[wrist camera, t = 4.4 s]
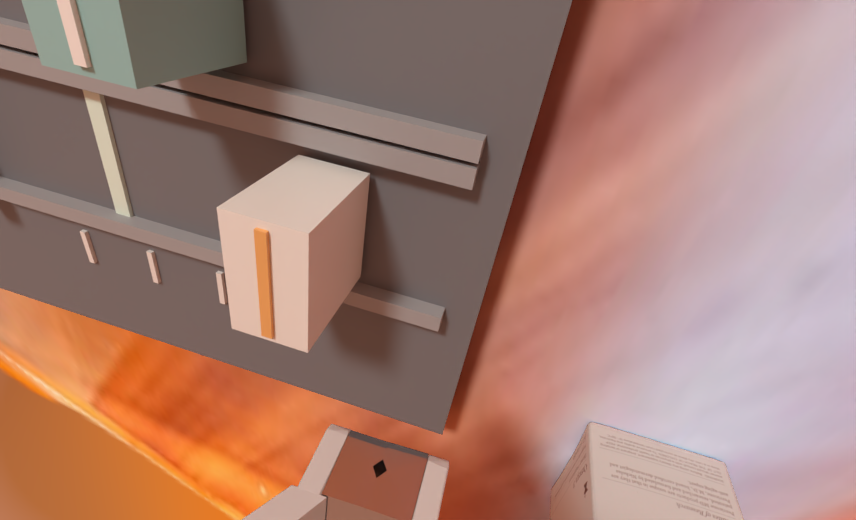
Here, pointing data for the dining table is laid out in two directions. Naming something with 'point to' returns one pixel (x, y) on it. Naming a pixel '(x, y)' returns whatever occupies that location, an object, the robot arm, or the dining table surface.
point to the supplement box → (640, 481)
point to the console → (268, 150)
